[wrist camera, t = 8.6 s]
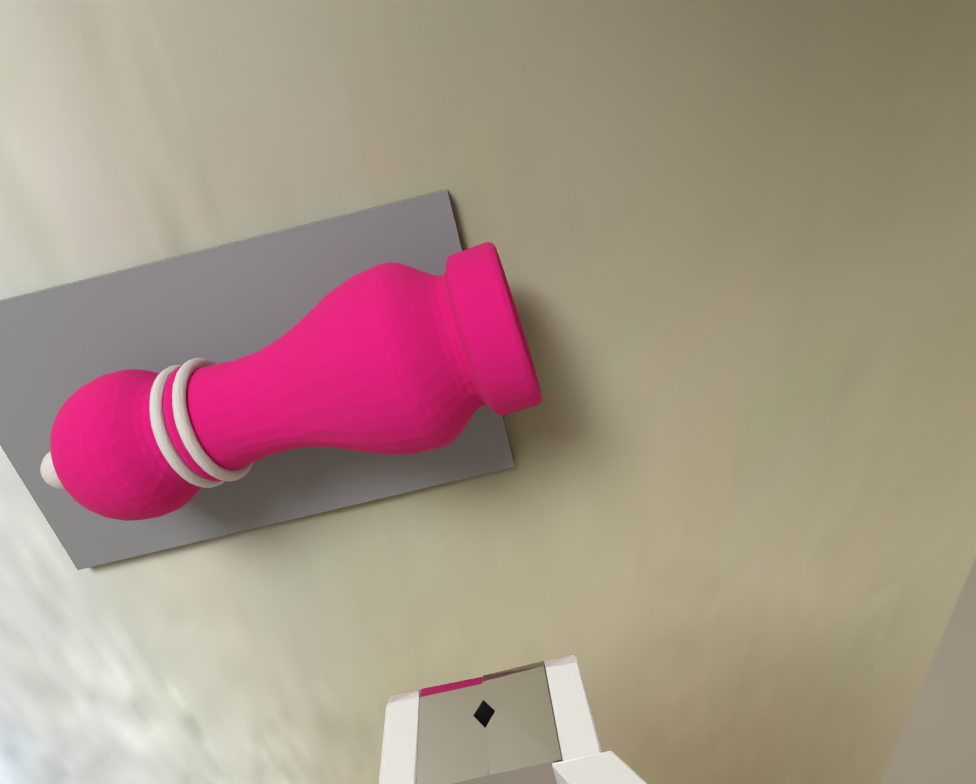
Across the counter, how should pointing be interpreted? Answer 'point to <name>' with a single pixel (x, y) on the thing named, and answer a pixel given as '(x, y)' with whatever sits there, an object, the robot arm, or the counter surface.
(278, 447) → the pepper mill
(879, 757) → the counter surface
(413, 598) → the counter surface
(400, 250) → the mat
